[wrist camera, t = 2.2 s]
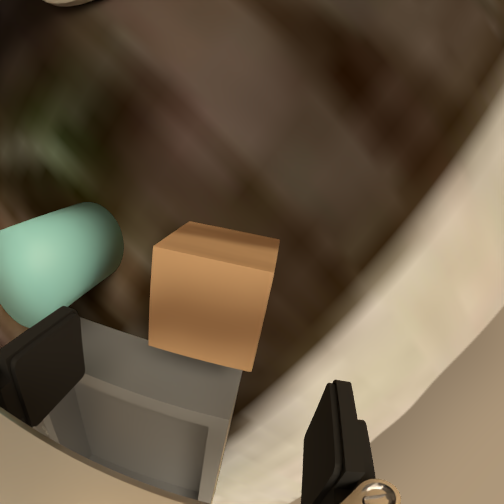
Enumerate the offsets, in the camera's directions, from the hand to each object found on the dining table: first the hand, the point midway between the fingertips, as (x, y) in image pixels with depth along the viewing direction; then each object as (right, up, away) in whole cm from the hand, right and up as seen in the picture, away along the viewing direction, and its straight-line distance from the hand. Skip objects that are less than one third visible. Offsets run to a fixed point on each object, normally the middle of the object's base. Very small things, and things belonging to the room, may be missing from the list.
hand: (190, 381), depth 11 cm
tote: (-7, -10, +13) cm, 17 cm away
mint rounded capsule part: (-8, +5, +8) cm, 13 cm away
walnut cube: (+1, +3, +8) cm, 8 cm away
